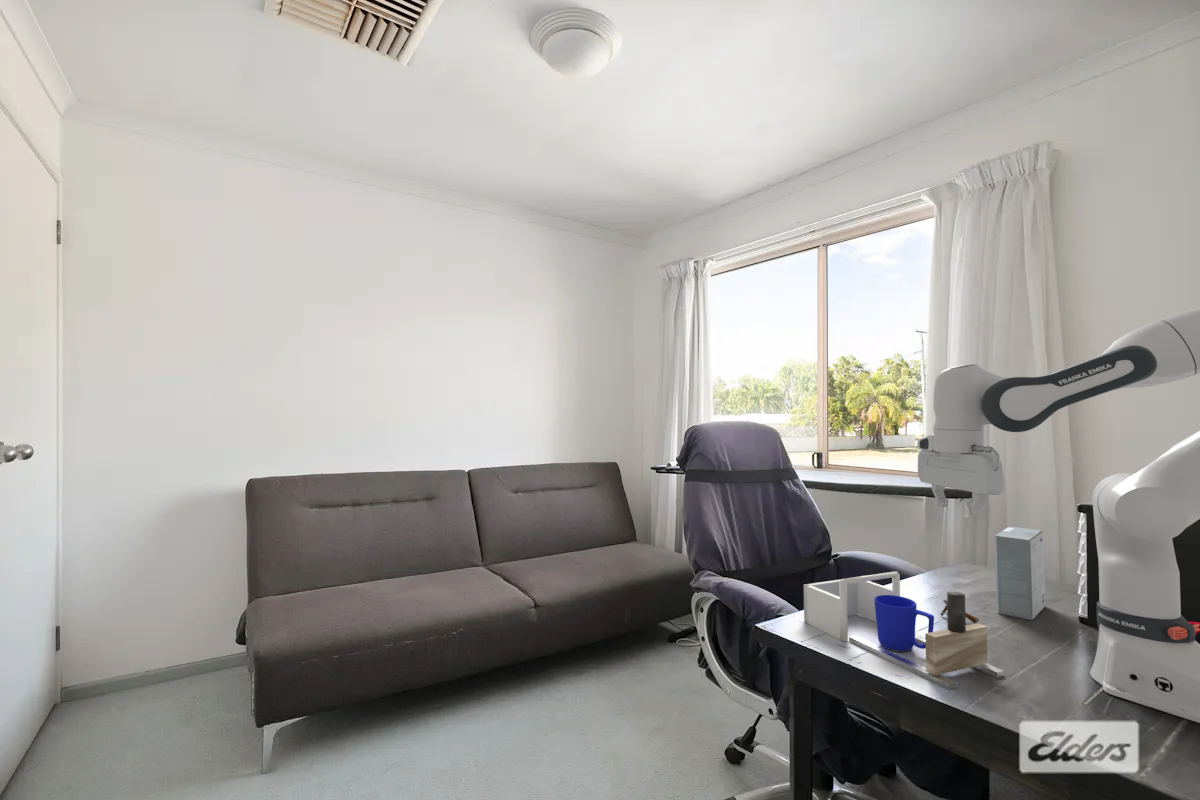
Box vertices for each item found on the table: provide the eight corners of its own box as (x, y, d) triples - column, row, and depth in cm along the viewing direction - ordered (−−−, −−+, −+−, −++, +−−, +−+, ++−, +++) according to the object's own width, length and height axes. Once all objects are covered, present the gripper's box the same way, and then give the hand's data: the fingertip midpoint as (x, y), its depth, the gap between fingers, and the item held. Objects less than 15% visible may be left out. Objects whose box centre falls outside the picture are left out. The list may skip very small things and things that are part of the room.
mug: (923, 665, 115) (922, 615, 115) (867, 644, 125) (866, 599, 125) (943, 655, 119) (942, 607, 120) (887, 636, 129) (887, 592, 130)
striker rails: (1004, 675, 110) (1004, 670, 110) (949, 689, 104) (949, 684, 105) (898, 631, 132) (898, 627, 132) (849, 641, 127) (849, 636, 127)
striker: (990, 664, 112) (988, 591, 112) (937, 676, 107) (936, 600, 107) (975, 658, 115) (973, 587, 115) (923, 670, 110) (922, 596, 110)
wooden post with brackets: (937, 611, 143) (945, 596, 142) (972, 632, 138) (980, 617, 137) (935, 613, 142) (944, 598, 141) (970, 634, 137) (978, 619, 135)
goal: (902, 630, 133) (901, 572, 133) (843, 641, 127) (843, 580, 127) (858, 612, 145) (857, 558, 145) (803, 621, 139) (802, 565, 139)
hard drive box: (1010, 599, 154) (1009, 526, 155) (1046, 606, 149) (1044, 530, 149) (995, 613, 144) (994, 534, 144) (1033, 621, 138) (1031, 539, 139)
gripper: (1013, 447, 107) (1013, 520, 107) (938, 440, 128) (938, 502, 127) (982, 447, 107) (982, 520, 106) (912, 440, 127) (911, 502, 127)
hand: (958, 510), depth 117 cm, fingers open, 8 cm apart
